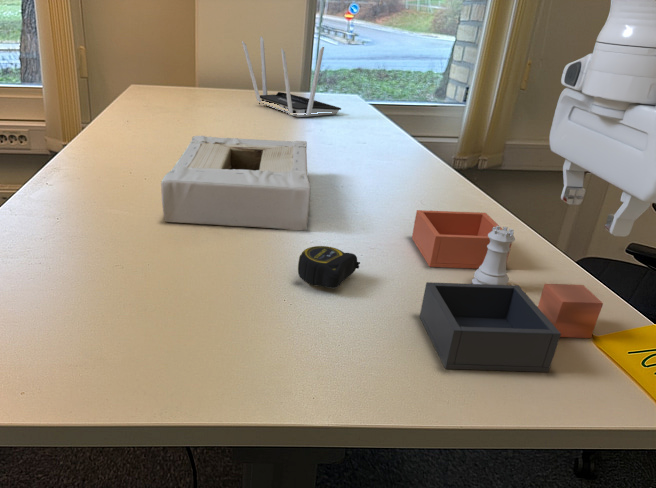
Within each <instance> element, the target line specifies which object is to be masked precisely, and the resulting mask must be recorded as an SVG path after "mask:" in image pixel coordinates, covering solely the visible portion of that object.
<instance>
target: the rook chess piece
mask: <svg viewBox="0 0 656 488" xmlns="http://www.w3.org/2000/svg"><path fill="white" fill-rule="evenodd" d="M500 227H501V226H500V225H499V226H496V227H493V228H492V231H491V232H490V233H489V234H488V237H489V239H490V243H489V244H488V245H487V248H488V251H487V254H486V257H485V259H484V262H483V264H482V265H481V266H480V267H479V269H478V268H476V270H475V271H474V272H473V276H474V277H473V278H472V279H471V282H472V283H471V284H490V285H508V283H509V281H510V278H509V276H508V271H507V263H506V260H507V261H508V259H507V255H508V252H509V253H510V251H511V248H509V245H510V244H511V243H512V244H513V243H514V242H515V241H516V238H515V236H514V233H515V231H514V229H512V228H508V226H503V228H502V229H503V230H500ZM512 244H511V245H512ZM508 256H509V255H508Z"/></svg>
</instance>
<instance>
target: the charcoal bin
mask: <svg viewBox="0 0 656 488" xmlns="http://www.w3.org/2000/svg"><path fill="white" fill-rule="evenodd" d="M419 319H420V321H421V322H422V325H423V327H424V330H425V331H426V333H427V335H428V337H429V339H430V341H431V343H432V345H433V347H434V349H435V351H436V353H437V355H438V357H439V359H440V361H441V363H442V365H443V367H444V369H445V370H470V371H472V370H473V371H501V372H502V371H503V372H509V371H510V372H536V373H549V372H550V369H551V365H552V362H553V360H554V357H555V354H556V350H557V347H558V345H559V341H560V339H561V337H560V336H561V333H560V332H559V331H558V330H557V329H556V327H555V326H554V325H553V324H552V323H551V322H550V321H549V319H548V318H547V317H546V316H545V315H544V314H543V313H542V312H541V310H540V309H539V308H538V305H536V304H535V302H534V301H533V300H532V299H531V298H530V297H529V295H528V294H527V293H526V292H525V291H524V290H523V289H522V287H521V286H520V285H519V284H518V285H517V284H516V285H515V284H507V285H490V284H473V283H462V282H461V283H460V282H459V283H457V282H431V281H427V282H426V283H425V288H424V292H423V298H422V303H421V307H420V313H419Z"/></svg>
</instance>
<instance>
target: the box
mask: <svg viewBox="0 0 656 488" xmlns="http://www.w3.org/2000/svg"><path fill="white" fill-rule="evenodd" d="M307 145H308V144H307V141H306V140H292V141H291V140H273V139H257V138H256V139H255V138H237V137H219V136H218V137H217V136H216V137H215V136H206V135H193V136H192V137H191V141H190V142H189V144H188V145H187V147H186V148H185V150H184V152H183V153H182V154H181V156H180V157H179V158H178V160H177V162H176V163H175V164H174V166H173V167H172V169H171V170H170V171H168V172H167V173H166V174H165V175H164V176H163V177H162V180H161V181H160V186H161V203H162V204H161V205H162V213H163V220H164V222H167V223H179V224H181V223H182V224H199V225H213V226H214V225H215V226H228V227H229V226H230V227H245V228H262V229H277V230H293V231H306V230H307V228H308V222H309V214H310V213H309V212H310V202H311V201H310V200H311V184H310V180H309V178H308V155H307V154H308V153H307V147H308V146H307Z"/></svg>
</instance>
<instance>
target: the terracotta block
mask: <svg viewBox="0 0 656 488" xmlns="http://www.w3.org/2000/svg"><path fill="white" fill-rule="evenodd" d="M603 305H604V302H603V301H601V300H600V299H599V298H598V297H597V295H595V293H594V294H593V292H592V291H590V290H589V289H588V288H587V287H586V286H585V285H584V284H571V283H570V284H569V283H567V284H565V283H544V284H543V289H542V291H541V295H540V298H539V301H538V304H537V307H538V308H539V309H540V310H541V312H542V313H543V314H544V315H545V316H546V317H547V318H548V319H549V321H550V322H551V323H552V324H553V325H554V326H555V327H556V329H557V330H558V331H559V332H560V333H561V336H560V338H573V339H574V338H575V339H576V338H577V339H591V338H592V336H593V334H594V333H593V332H594V330H595V327H596V324H597V323H598V319H599V316H600V314H601V311H602V308H603Z"/></svg>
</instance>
